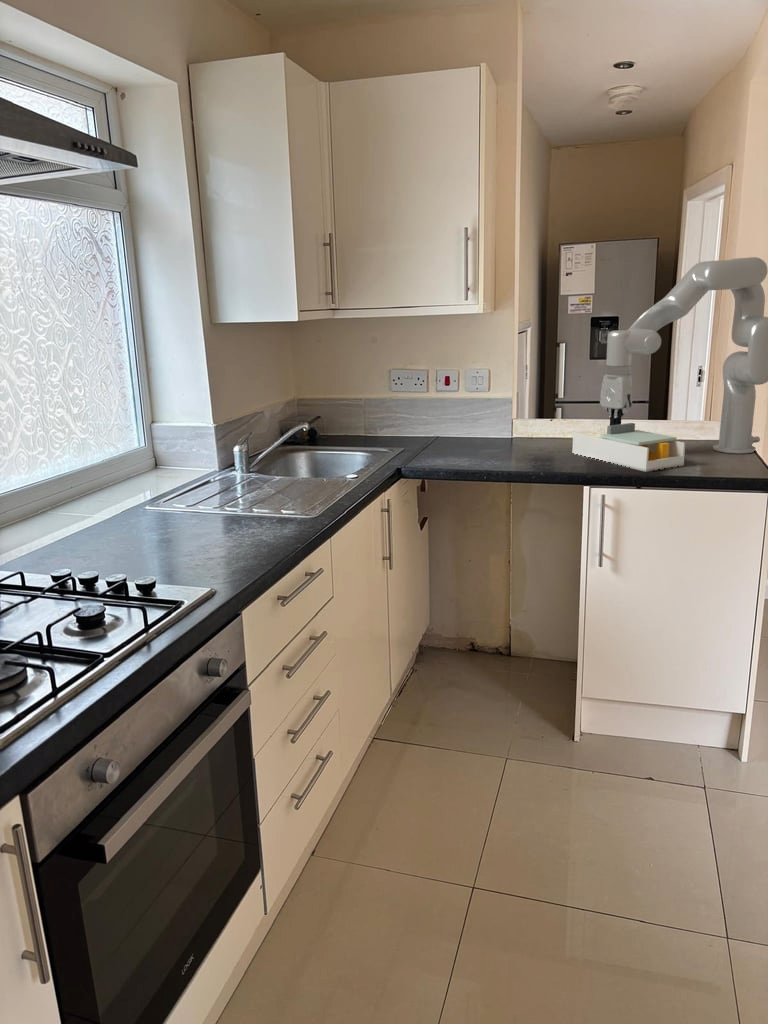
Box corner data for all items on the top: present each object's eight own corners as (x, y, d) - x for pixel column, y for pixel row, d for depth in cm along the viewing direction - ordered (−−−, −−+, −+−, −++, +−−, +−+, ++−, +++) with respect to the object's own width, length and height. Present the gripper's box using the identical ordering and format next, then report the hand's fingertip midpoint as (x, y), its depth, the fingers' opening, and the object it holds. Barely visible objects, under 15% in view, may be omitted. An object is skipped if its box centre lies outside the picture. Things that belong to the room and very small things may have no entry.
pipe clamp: (629, 459, 242) (630, 438, 241) (640, 457, 244) (642, 437, 242) (656, 466, 232) (657, 444, 230) (667, 464, 233) (669, 443, 231)
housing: (607, 448, 262) (609, 427, 260) (683, 465, 234) (685, 442, 232) (572, 453, 256) (573, 432, 254) (645, 471, 228) (647, 448, 226)
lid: (636, 432, 249) (637, 422, 248) (676, 439, 235) (677, 429, 234) (600, 437, 243) (600, 426, 242) (638, 445, 229) (639, 434, 228)
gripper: (592, 370, 247) (589, 427, 252) (626, 373, 234) (622, 434, 239) (610, 368, 250) (607, 425, 255) (645, 372, 237) (641, 432, 242)
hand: (615, 429), depth 247 cm, fingers closed
